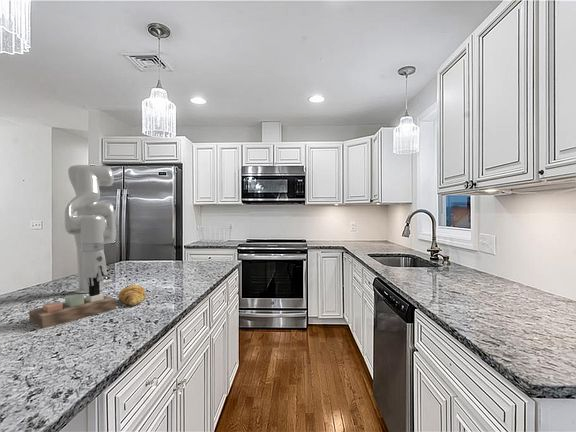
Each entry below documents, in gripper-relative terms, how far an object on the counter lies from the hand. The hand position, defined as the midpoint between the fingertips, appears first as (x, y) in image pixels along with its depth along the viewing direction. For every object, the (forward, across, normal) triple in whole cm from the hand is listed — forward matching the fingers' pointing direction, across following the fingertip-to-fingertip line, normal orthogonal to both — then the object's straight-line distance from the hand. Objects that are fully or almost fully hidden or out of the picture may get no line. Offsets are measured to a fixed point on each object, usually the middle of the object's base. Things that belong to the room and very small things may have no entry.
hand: (94, 295), depth 126 cm
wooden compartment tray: (+6, 0, +7) cm, 9 cm away
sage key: (+3, 0, +7) cm, 7 cm away
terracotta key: (+4, 0, +14) cm, 14 cm away
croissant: (+6, 0, -15) cm, 16 cm away
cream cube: (+4, 0, 0) cm, 4 cm away
